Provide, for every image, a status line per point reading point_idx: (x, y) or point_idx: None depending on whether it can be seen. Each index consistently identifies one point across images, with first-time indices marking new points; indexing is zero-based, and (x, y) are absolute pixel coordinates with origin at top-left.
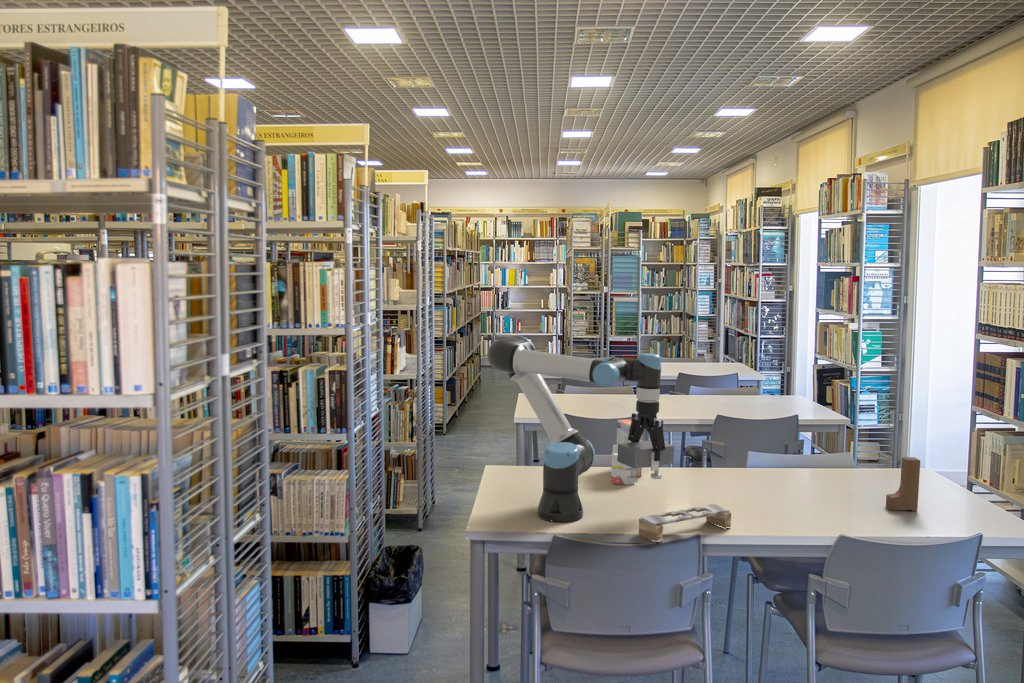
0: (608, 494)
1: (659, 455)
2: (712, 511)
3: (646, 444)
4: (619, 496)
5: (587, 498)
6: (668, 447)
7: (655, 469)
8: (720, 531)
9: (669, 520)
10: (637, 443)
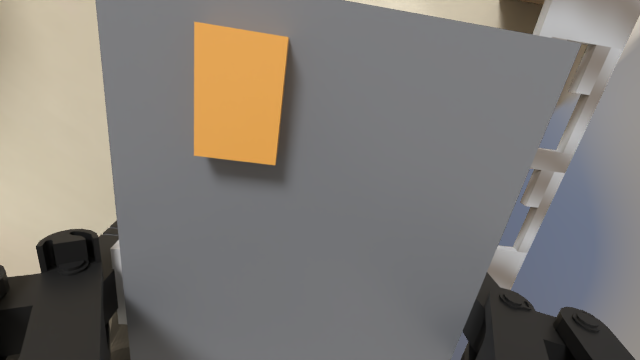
0: (34, 63)
1: (487, 280)
2: (606, 54)
3: (290, 308)
4: (77, 43)
5: (60, 167)
6: (528, 149)
7: None
8: (582, 44)
9: (523, 254)
10: (204, 357)
